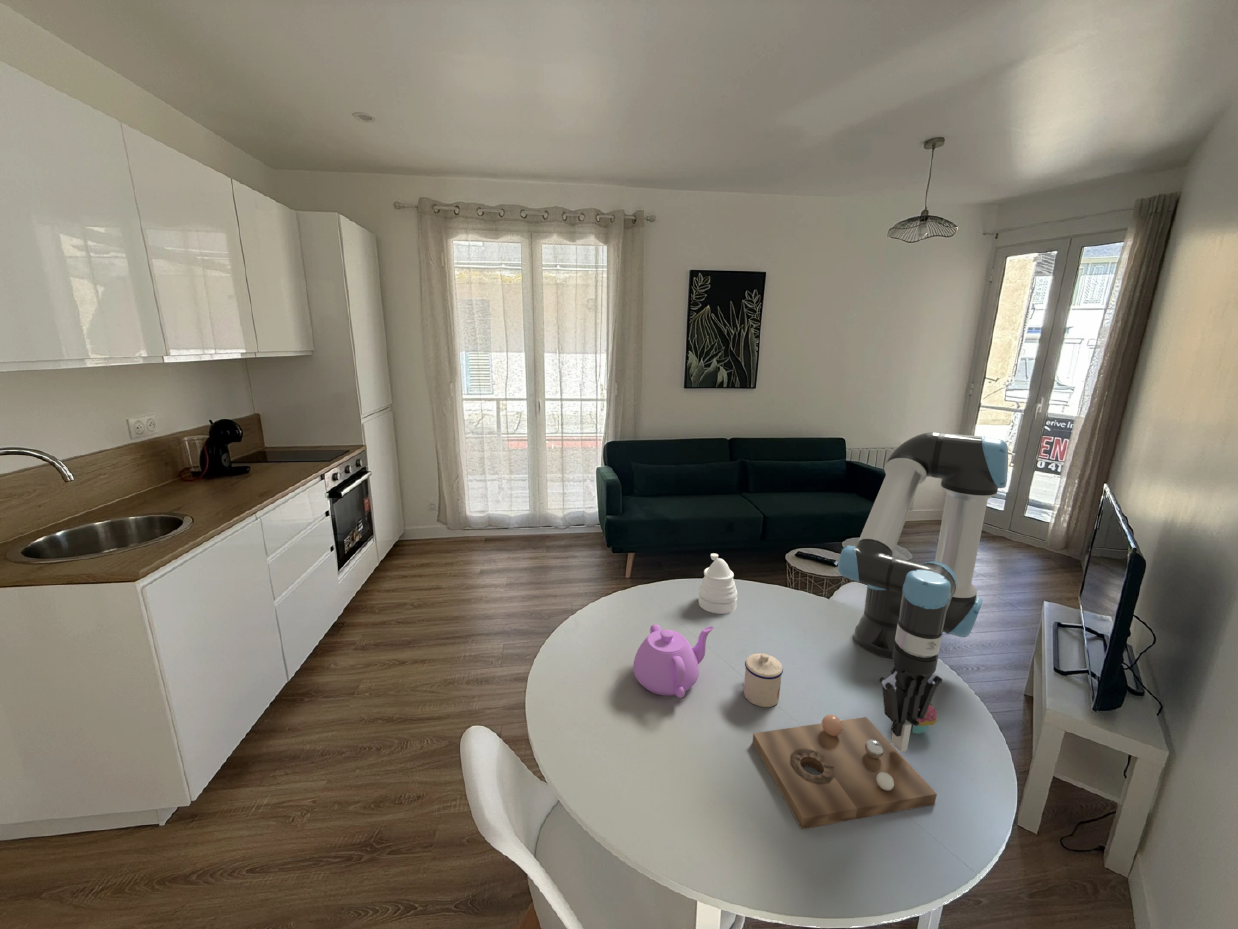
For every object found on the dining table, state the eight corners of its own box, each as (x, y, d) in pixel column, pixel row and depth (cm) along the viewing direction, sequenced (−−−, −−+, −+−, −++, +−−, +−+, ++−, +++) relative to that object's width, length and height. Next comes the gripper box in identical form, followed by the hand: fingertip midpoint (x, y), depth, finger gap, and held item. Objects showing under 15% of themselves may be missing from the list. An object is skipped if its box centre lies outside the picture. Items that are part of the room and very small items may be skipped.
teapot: (730, 697, 120) (734, 649, 116) (649, 715, 114) (650, 665, 110) (693, 646, 140) (695, 604, 137) (622, 659, 134) (622, 615, 131)
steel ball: (874, 748, 102) (876, 734, 101) (886, 761, 98) (888, 747, 98) (859, 750, 101) (862, 736, 100) (871, 764, 98) (873, 749, 97)
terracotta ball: (833, 725, 108) (835, 709, 107) (845, 739, 104) (847, 723, 103) (816, 727, 107) (818, 711, 106) (828, 742, 103) (830, 725, 102)
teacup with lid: (786, 707, 117) (790, 666, 114) (749, 709, 116) (753, 668, 113) (767, 675, 128) (770, 636, 125) (734, 677, 127) (736, 638, 125)
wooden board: (864, 726, 111) (866, 717, 110) (934, 804, 92) (936, 794, 91) (752, 742, 106) (753, 733, 105) (801, 829, 87) (803, 818, 86)
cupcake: (928, 718, 114) (937, 674, 111) (939, 745, 106) (948, 698, 103) (888, 709, 116) (895, 666, 114) (895, 735, 109) (903, 689, 106)
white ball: (885, 779, 94) (887, 767, 94) (896, 793, 91) (898, 780, 91) (871, 782, 94) (873, 769, 93) (882, 795, 91) (884, 782, 90)
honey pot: (698, 611, 159) (700, 562, 155) (698, 593, 171) (700, 546, 167) (737, 615, 157) (741, 565, 153) (735, 596, 169) (738, 549, 165)
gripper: (901, 663, 90) (884, 765, 96) (960, 655, 93) (940, 756, 98) (874, 639, 97) (859, 736, 103) (929, 633, 100) (912, 728, 105)
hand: (898, 746), depth 100 cm, fingers closed
